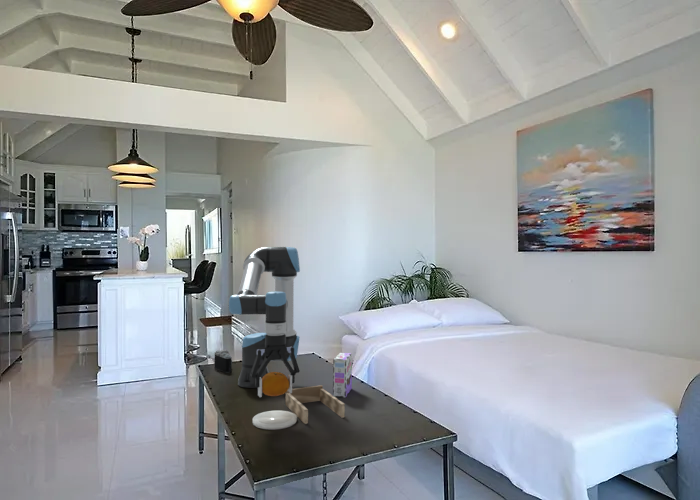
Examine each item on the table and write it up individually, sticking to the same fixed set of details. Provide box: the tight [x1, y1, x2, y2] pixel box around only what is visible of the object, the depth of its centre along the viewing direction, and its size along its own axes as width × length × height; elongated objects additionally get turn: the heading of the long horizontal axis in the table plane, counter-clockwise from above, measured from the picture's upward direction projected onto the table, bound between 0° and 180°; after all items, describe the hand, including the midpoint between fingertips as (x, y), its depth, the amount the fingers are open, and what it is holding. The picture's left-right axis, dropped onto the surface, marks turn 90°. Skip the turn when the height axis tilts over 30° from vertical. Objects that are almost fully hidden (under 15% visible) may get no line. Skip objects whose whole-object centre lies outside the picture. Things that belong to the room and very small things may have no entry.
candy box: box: [332, 352, 353, 398], centre depth 203 cm, size 14×6×16 cm, turn 168°
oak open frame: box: [284, 384, 346, 425], centre depth 180 cm, size 23×16×6 cm
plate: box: [252, 409, 298, 431], centre depth 168 cm, size 16×16×1 cm
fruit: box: [262, 371, 289, 397], centre depth 169 cm, size 10×10×8 cm
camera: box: [214, 349, 233, 374], centre depth 243 cm, size 15×7×10 cm, turn 42°
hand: (275, 394), depth 168 cm, fingers closed on fruit, 11 cm apart
